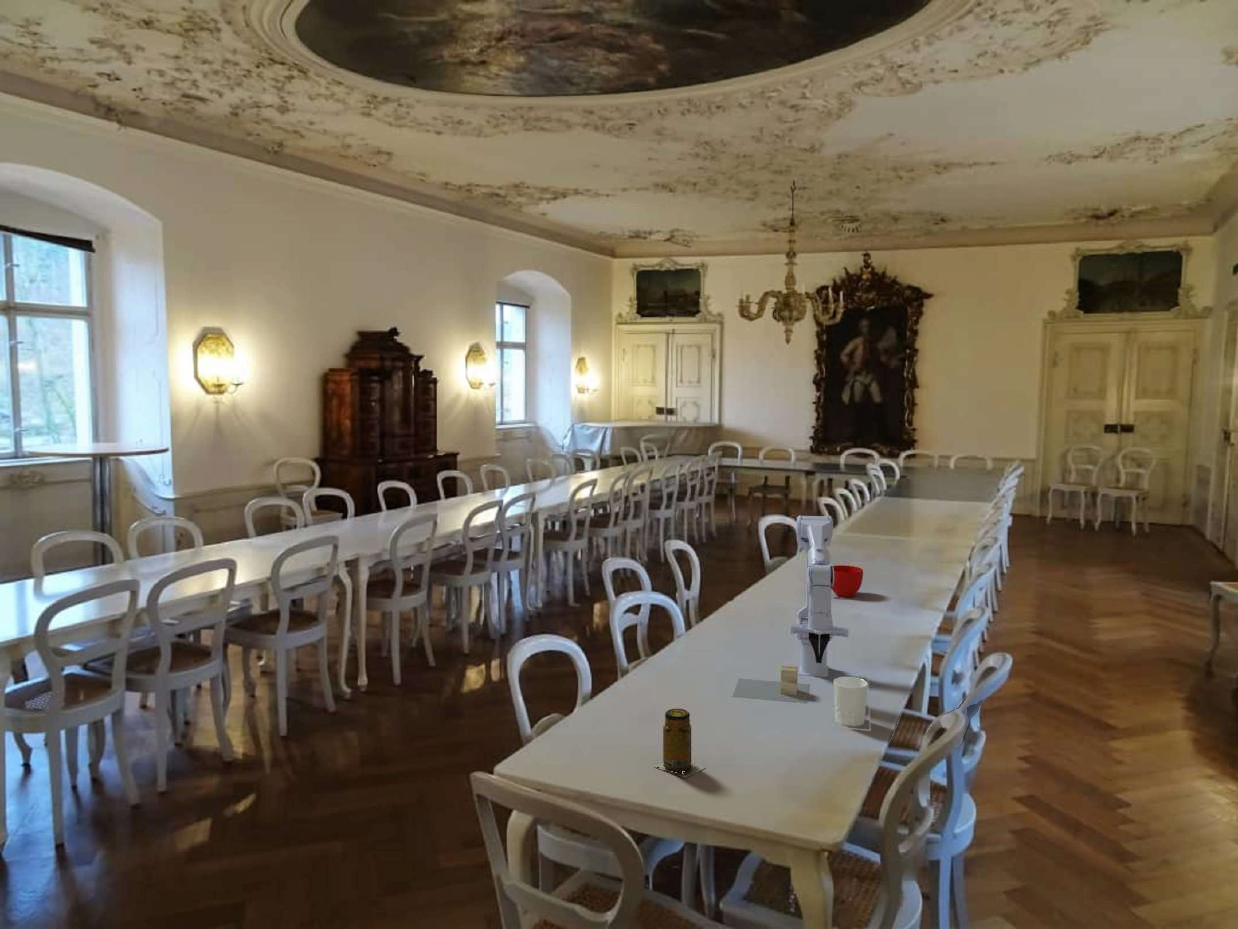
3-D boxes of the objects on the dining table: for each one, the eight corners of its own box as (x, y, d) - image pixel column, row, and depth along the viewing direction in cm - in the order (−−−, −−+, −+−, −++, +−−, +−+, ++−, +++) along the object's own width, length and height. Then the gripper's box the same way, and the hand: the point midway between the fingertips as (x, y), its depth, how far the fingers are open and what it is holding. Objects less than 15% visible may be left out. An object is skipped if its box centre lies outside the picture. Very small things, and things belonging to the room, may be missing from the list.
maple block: (781, 688, 234) (782, 664, 234) (797, 689, 233) (797, 666, 233) (780, 693, 230) (781, 669, 230) (796, 695, 229) (796, 670, 229)
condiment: (675, 756, 194) (675, 703, 193) (706, 768, 189) (706, 714, 187) (653, 767, 189) (653, 713, 188) (684, 779, 183) (684, 724, 182)
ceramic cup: (811, 593, 336) (812, 567, 335) (850, 589, 341) (851, 564, 340) (829, 601, 324) (829, 574, 323) (869, 597, 329) (870, 571, 328)
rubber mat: (739, 679, 242) (739, 678, 242) (809, 685, 237) (809, 684, 237) (732, 698, 229) (732, 696, 229) (807, 704, 224) (807, 703, 224)
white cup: (843, 730, 208) (844, 689, 207) (826, 718, 215) (827, 678, 214) (873, 726, 210) (874, 686, 209) (855, 714, 217) (856, 675, 216)
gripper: (790, 612, 226) (789, 664, 227) (848, 616, 222) (847, 669, 223) (792, 605, 232) (791, 656, 234) (848, 609, 229) (847, 660, 230)
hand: (818, 662), depth 229 cm, fingers closed
